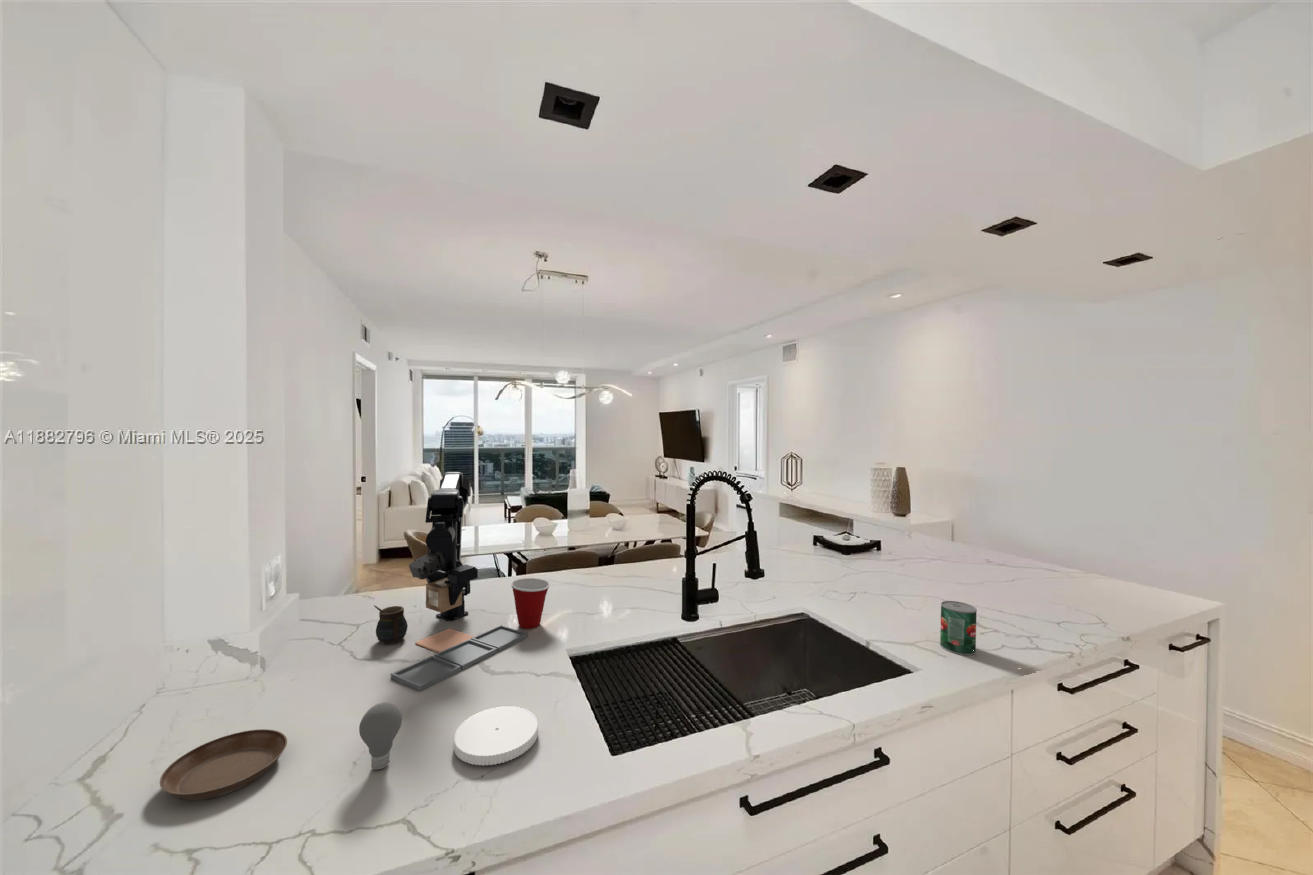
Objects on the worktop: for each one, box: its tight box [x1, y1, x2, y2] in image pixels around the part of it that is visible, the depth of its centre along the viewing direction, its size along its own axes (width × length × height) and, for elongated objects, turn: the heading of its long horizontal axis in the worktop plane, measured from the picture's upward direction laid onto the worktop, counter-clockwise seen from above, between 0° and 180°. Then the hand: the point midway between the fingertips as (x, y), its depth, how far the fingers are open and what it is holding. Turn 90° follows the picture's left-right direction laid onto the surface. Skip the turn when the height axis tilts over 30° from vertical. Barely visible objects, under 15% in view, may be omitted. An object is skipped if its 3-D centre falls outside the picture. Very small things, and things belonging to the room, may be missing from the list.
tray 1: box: [390, 655, 462, 692], centre depth 106 cm, size 10×10×1 cm
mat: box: [414, 628, 474, 653], centre depth 123 cm, size 10×10×1 cm
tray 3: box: [471, 624, 529, 652], centre depth 124 cm, size 10×10×1 cm
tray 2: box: [433, 639, 498, 671], centre depth 115 cm, size 10×10×1 cm
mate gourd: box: [373, 605, 409, 645], centre depth 122 cm, size 7×8×10 cm
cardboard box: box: [425, 578, 462, 613], centre depth 121 cm, size 6×6×6 cm
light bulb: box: [358, 701, 403, 770], centre depth 77 cm, size 6×6×10 cm
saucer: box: [159, 728, 288, 801], centre depth 75 cm, size 15×15×3 cm
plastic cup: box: [510, 577, 552, 630], centre depth 134 cm, size 11×11×12 cm
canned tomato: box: [939, 600, 978, 656], centre depth 124 cm, size 8×8×11 cm
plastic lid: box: [453, 705, 539, 766], centre depth 84 cm, size 14×14×2 cm
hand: (444, 602), depth 121 cm, fingers closed on cardboard box, 6 cm apart
